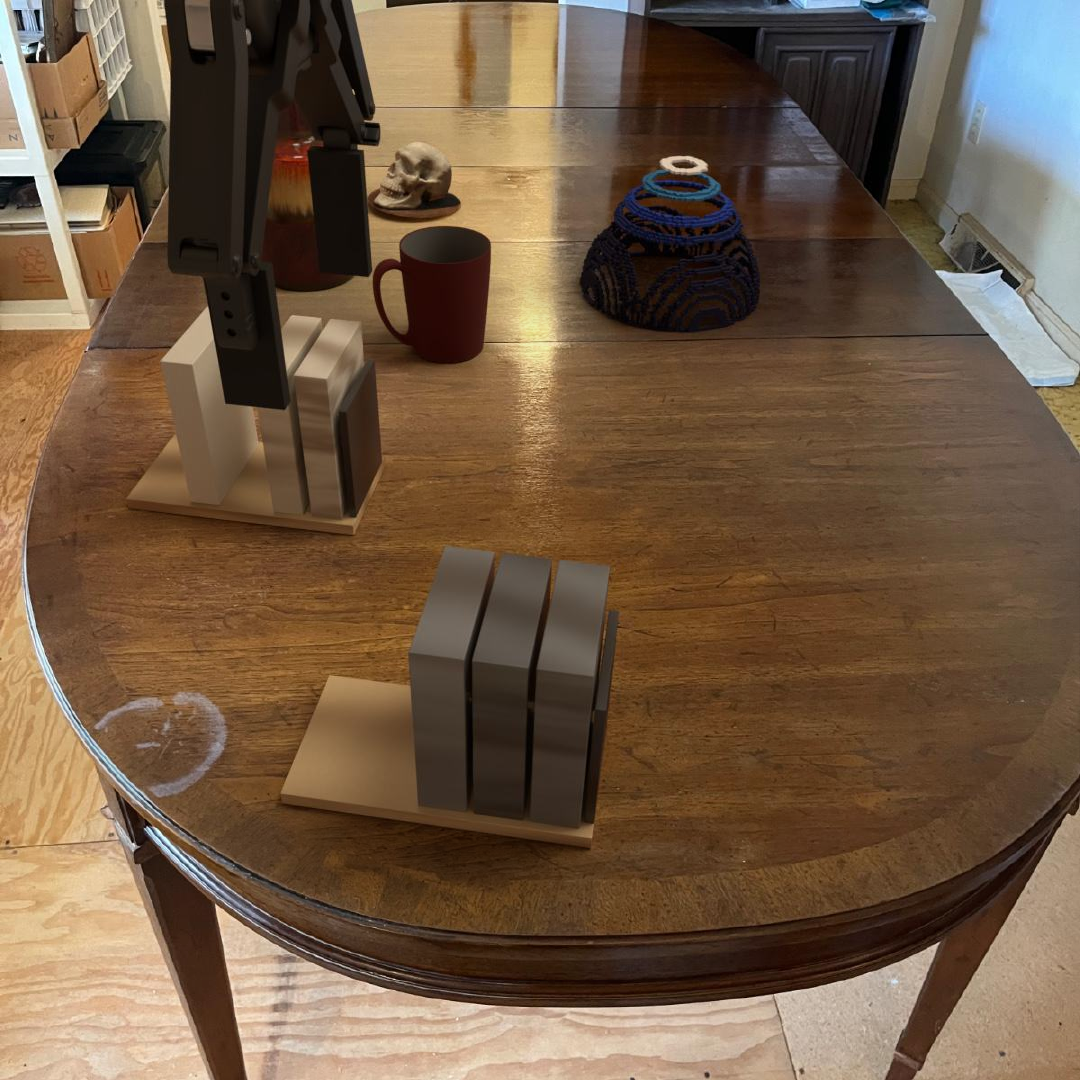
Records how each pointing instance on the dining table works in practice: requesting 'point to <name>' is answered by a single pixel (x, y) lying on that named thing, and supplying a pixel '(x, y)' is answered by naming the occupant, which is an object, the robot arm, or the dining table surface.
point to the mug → (441, 291)
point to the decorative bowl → (651, 245)
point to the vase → (293, 210)
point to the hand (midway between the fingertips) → (306, 331)
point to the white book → (206, 416)
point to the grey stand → (477, 708)
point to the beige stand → (297, 443)
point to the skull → (416, 184)
